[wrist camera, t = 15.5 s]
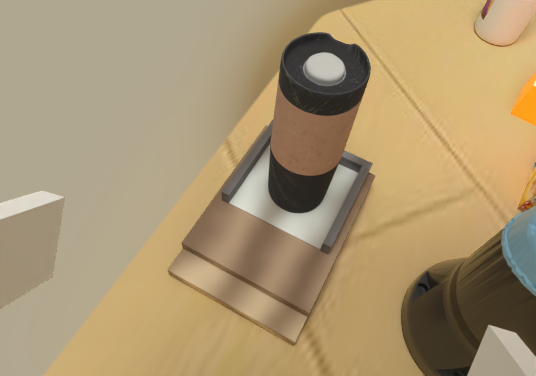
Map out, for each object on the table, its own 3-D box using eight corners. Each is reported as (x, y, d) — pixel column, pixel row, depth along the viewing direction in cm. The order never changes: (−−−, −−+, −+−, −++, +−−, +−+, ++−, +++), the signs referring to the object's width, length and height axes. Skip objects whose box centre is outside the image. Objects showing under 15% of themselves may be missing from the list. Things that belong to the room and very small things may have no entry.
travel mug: (276, 222, 49) (298, 103, 32) (257, 170, 52) (268, 38, 35) (337, 207, 50) (388, 86, 33) (314, 157, 54) (350, 25, 37)
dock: (369, 187, 56) (380, 166, 52) (293, 345, 45) (299, 334, 40) (264, 139, 59) (266, 115, 55) (169, 274, 48) (162, 257, 44)
